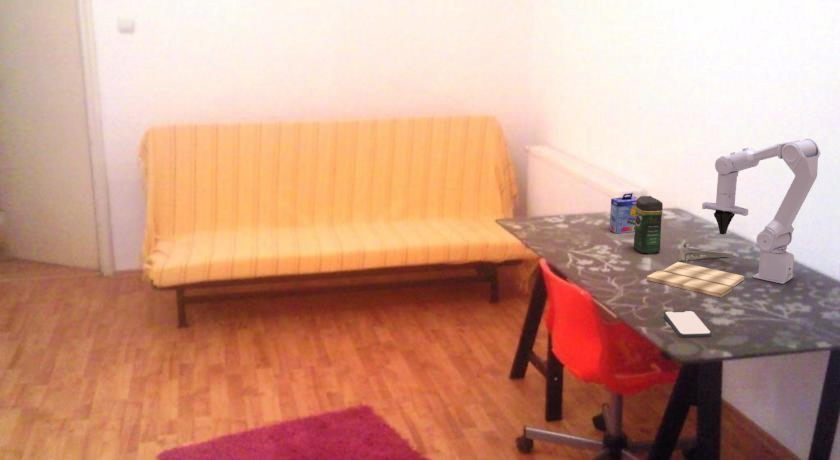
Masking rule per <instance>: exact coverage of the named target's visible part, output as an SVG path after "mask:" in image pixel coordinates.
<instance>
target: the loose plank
mask: <svg viewBox="0 0 840 460" xmlns="http://www.w3.org/2000/svg"><path fill="white" fill-rule="evenodd" d="M663 271H667V272H672V273H676V274H681V275H685V276H690V277H694V278H699V279H703V280H707V281H712V282H716V283H721V284H725V285H730V286H733V288H734V287H736V286H737V285H738V284H739V283H741V282H743V281H744V280H745V275H741V274H736V273H731V272H727V271H722V270H717V269H713V268H708V267H704V266H701V265H700V266H699V265H694V264H691V263H687V262H683V261H682V262H681V261H677V262H675V263H673V264H671V265H669V266H668V267H666V268H665V269H663Z"/></svg>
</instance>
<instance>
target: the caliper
mask: <svg viewBox="0 0 840 460" xmlns="http://www.w3.org/2000/svg"><path fill="white" fill-rule="evenodd" d="M691 255H692V256H693V257H698V258H700V256H701V255H702V256H709V257H710V256H712V257H720V258H733V257H734V258H735V257H736V258H737V255H736V254H734V253H732V252H724V251H715V250H707V249H706V250H705V249H702V248H699V247H692V246H691V247H690V244H689V243H687V244H686V243H683V246H681V248H680V251H679V259H678V260H679V261H678V262H682V263H683V261H684V263H687V262H688V260H689V259H690V257H691ZM683 259H684V260H683Z"/></svg>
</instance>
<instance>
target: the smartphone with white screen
mask: <svg viewBox="0 0 840 460" xmlns="http://www.w3.org/2000/svg"><path fill="white" fill-rule="evenodd" d="M663 318H664V319H665V321H668V322H667V323H668V324H669V326H670V325H671V326H672V327H673V328H672V327H671V326H670V327H671V328H672V330H675V331H676V332H675V331H674V332H675V333H676V335H679V336H681V337H680V338H682V337H698V338H711V337H712V336H713V332H712V331H711V330H710V329H709V327H708V326H707V325H706V324H705V323H704V321H703V320H702V319H701V318H700V317H699V316H698V315H697V314H696V312H695V311H693V310H675V311H673V310H672V311H668V310H667V311H665V312H664V313H663ZM679 336H678V337H679Z"/></svg>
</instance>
